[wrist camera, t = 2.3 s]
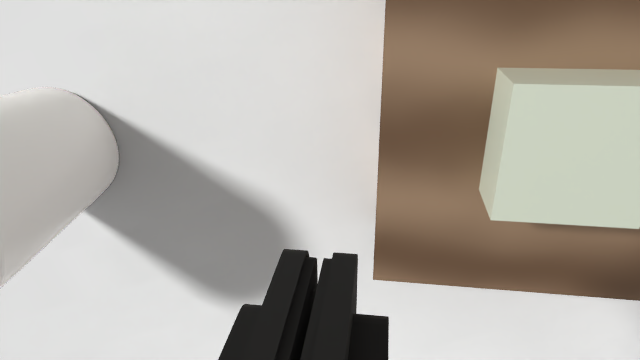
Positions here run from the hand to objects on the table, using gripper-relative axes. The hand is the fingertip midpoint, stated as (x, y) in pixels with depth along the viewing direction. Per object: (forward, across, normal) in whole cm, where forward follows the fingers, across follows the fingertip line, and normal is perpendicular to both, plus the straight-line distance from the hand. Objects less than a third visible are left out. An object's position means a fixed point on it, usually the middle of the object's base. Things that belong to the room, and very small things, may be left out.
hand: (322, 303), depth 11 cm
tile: (+13, -9, 0) cm, 16 cm away
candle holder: (+19, +21, +4) cm, 29 cm away
